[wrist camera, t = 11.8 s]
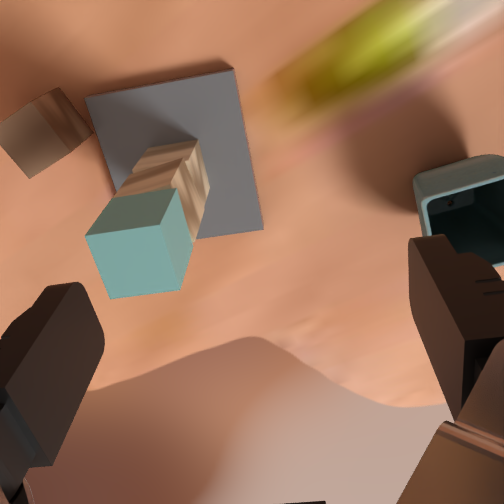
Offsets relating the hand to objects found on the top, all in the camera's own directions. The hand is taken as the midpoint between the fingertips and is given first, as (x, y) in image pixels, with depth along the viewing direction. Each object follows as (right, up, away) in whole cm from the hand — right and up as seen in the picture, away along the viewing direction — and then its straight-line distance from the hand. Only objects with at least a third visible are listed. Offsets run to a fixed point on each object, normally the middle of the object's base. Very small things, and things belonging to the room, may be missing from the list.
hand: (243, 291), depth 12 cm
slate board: (-7, +10, +36) cm, 38 cm away
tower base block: (-7, +9, +35) cm, 37 cm away
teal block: (-7, +3, +25) cm, 26 cm away
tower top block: (-7, +6, +30) cm, 31 cm away
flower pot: (+20, +7, +37) cm, 42 cm away
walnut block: (-19, +13, +35) cm, 42 cm away
